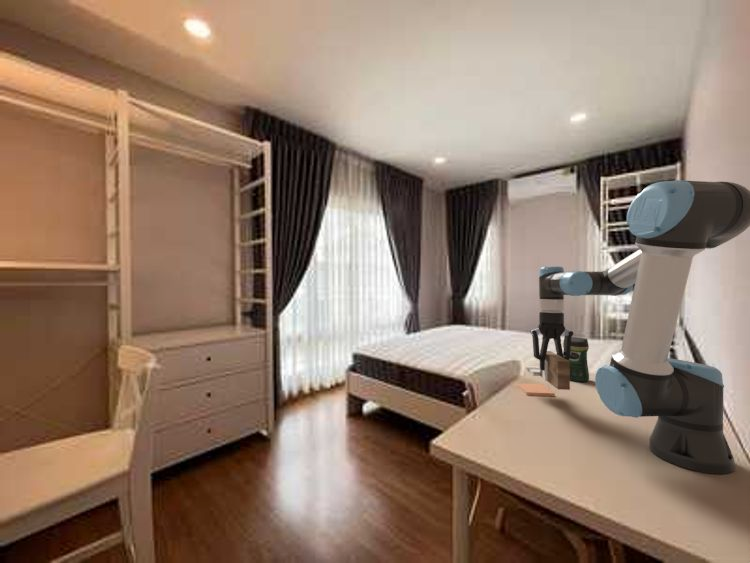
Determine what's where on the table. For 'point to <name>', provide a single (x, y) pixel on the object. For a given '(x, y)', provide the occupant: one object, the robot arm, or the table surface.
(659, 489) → the table surface
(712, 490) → the table surface
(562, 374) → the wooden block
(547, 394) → the tile
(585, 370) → the coffee jar
